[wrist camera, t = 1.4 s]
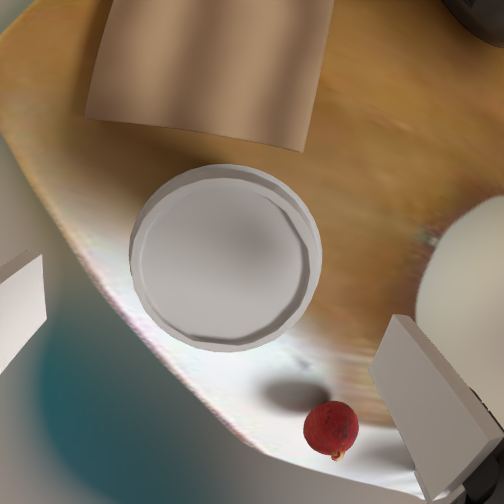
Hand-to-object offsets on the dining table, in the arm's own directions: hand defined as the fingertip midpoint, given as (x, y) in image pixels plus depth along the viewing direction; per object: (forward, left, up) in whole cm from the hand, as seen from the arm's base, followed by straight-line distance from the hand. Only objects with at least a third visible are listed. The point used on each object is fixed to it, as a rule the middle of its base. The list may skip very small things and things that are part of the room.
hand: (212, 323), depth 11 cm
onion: (-14, +19, -16) cm, 29 cm away
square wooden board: (+4, -14, -16) cm, 22 cm away
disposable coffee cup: (0, 0, -16) cm, 16 cm away
